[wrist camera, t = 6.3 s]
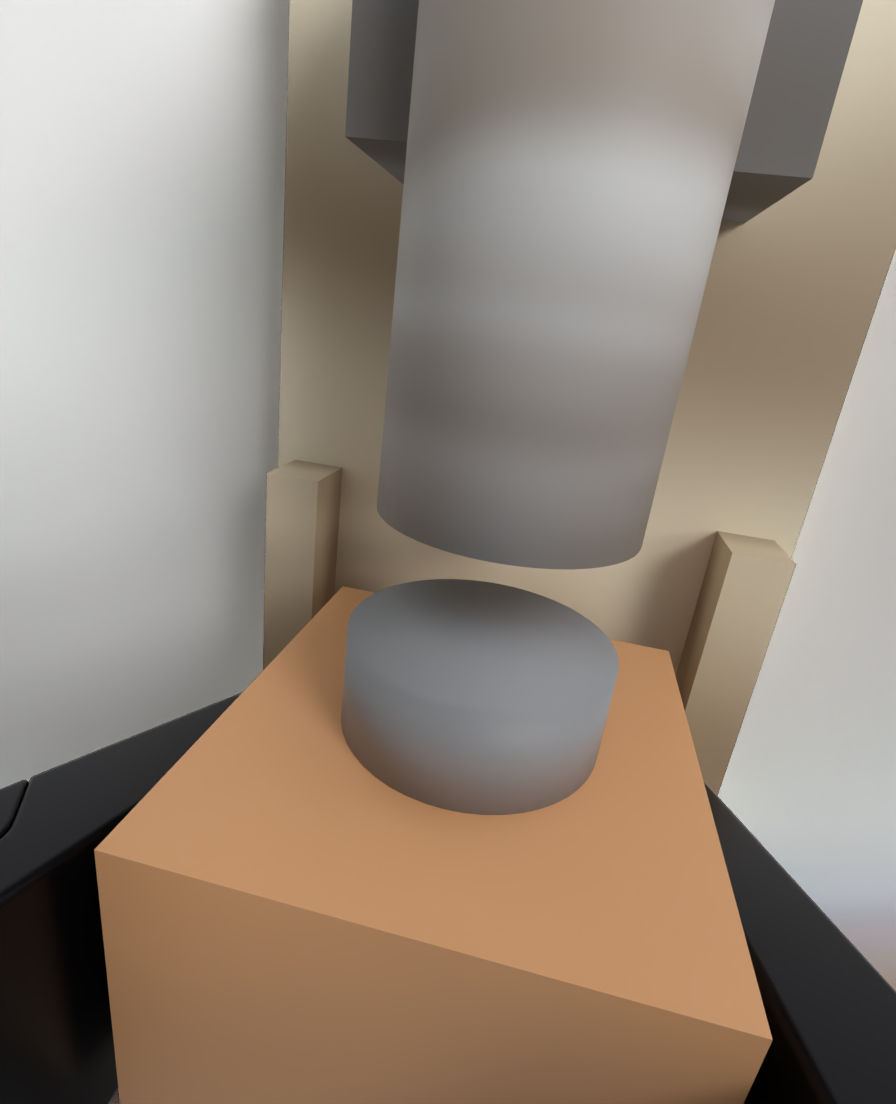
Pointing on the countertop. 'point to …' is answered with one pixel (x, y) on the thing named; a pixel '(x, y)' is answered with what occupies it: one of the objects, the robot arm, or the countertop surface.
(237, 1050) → the coupling
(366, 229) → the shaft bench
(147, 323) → the countertop surface
